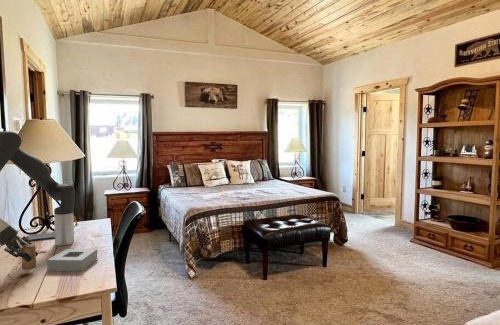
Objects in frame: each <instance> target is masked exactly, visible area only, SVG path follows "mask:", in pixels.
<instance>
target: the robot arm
mask: <svg viewBox="0 0 500 325" xmlns="http://www.w3.org/2000/svg"><path fill="white" fill-rule="evenodd" d="M21 145H22V137H21V135H20V134H19V133H17V132H16V131H8V130H7V131H5V130H4V131H2V130H1V131H0V172H1V171H2V170H3V169H4V167H5V166H6V165H7V163H8V162H9V161H10V162H11V163H12V164H14V165H15V167H17V168H18V169H20V170H21V171H22V172H23V173H24V174H25V175H26V176H28V178H30V180H32V181H34V182H35V184H37V185H38V186H40V187H41V188H42V189H43V190H44V191H45V192H46V193H47V195H48V196H49V197H50V198H52V200H55V201H57V202H58V201H59V202H60V204H59V206H57V207H55V208H54V209H53V213H54V214H53V215H54V232H55V239H54V245H55V246H61V247H62V246H68V245H72V244H74V242H75V225H74V222H73V216H74V208H75V206H76V205H75V204H76V203H75V202H76V190H75V188H74V186H73V185H71V184H64V183H59V182H57V181H56V180H55V179H53V178H52V175H51V171H50V169H49V167H48V166H47V165H46V164H45V163H44V162H43V161H42V160H41V159H40V158H38V157H36V156H34V155H33V154H30V153H29V152H27V151H24V149H23V150H22V149H21V148H20V147H21ZM18 234H19V232H18V231H17V230H16V229H15V228H14V227H13V226H11V225H10V224H9V223H8V222H6V221H5V220H3V219H2V218H0V246H3V247H4V246H5V245H6V247H5V248H4V249H3V251H5V252H6V253H8V254H9V255H11V256H12V257H15V258H18V257H19V258H21V259H22V258H23V259H24V260H26V261H27V262H30V261H31V260H32V257H31V256H30V255H28V254H27V253H25V251H24V250H23V247H22V246H24V245H29V244H33V242H30V241H29V240H28V239H27V238H26V237H27V236H25V235H24V236H23V237H20V236H18ZM38 255H39V252H37V251H36V257H38Z"/></svg>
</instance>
